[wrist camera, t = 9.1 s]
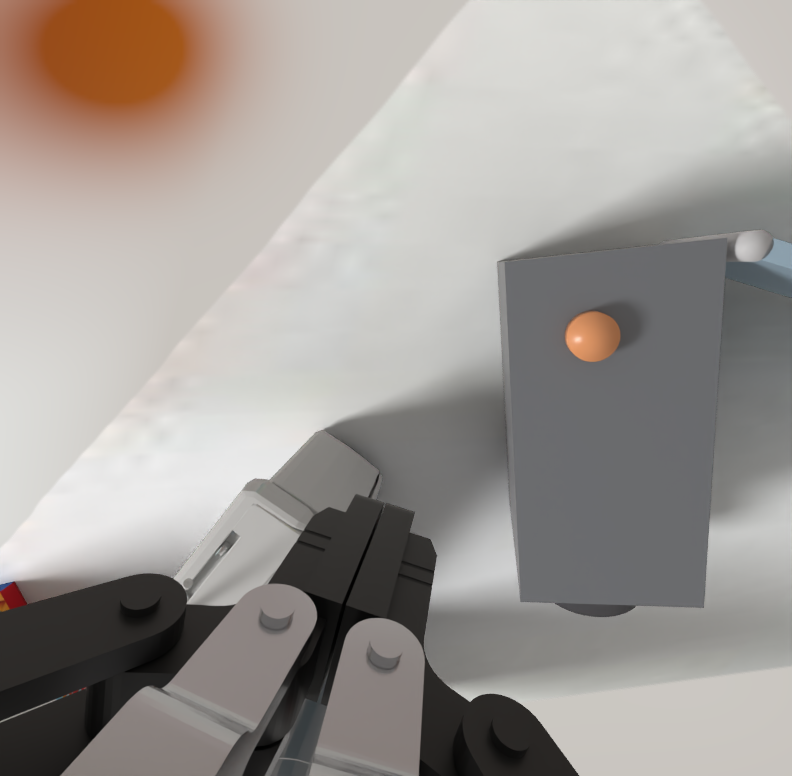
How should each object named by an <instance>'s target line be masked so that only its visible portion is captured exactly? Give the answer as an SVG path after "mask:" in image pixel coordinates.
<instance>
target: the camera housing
mask: <svg viewBox="0 0 792 776" xmlns="http://www.w3.org/2000/svg"><path fill="white" fill-rule="evenodd" d="M727 239H728V238H719V239H708V240H698V241H688V242H678V243H667V244H657V245H647V246H637V247H628V248H619V249H610V250H601V251H591V252H582V253H573V254H564V255H555V256H546V257H536V258H527V259H518V260H509V261H500V262H497V267H498V286H499V305H500V325H501V344H502V364H503V383H504V402H505V422H506V441H507V461H508V480H509V500H510V511H511V520H512V529H513V537H514V546H515V555H516V564H517V573H518V582H519V591H520V600H521V602H543V603H555V604H557V605H558V606H560V607H562V608H564V609H566V610H569V611H571V612H574V613H578V614H581V615H586V616H594V617H610V616H616V615H620V614H623V613H626V612H628V611H630V610H632V609H633V608H634V607H636V605H637V606H668V607H699V608H704V596H705V581H706V565H707V550H708V534H709V519H710V503H711V488H712V472H713V456H714V441H715V425H716V410H717V394H718V379H719V363H720V348H721V332H722V317H723V301H724V286H725V270H726V254H727Z"/></svg>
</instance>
